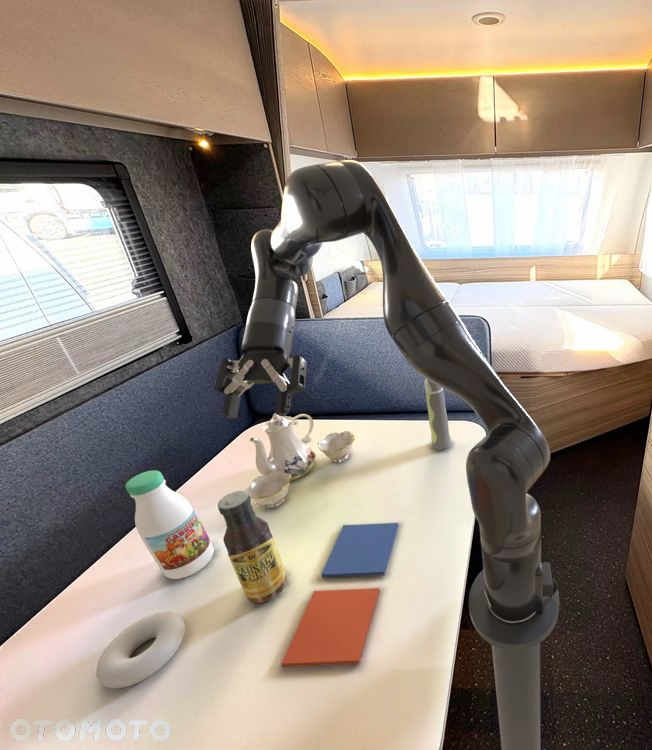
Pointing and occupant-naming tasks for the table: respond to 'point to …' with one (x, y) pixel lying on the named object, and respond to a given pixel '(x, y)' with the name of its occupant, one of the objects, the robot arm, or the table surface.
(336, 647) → the terracotta mat
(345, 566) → the slate-blue mat
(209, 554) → the milk bottle
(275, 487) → the chinaware
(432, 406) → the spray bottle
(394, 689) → the table surface
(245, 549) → the sauce bottle
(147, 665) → the donut
